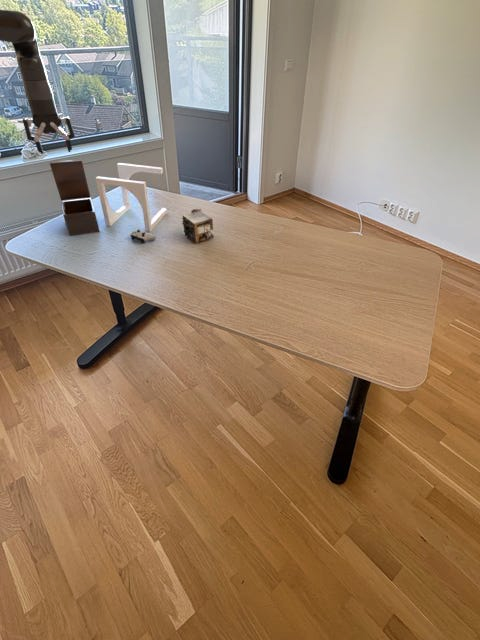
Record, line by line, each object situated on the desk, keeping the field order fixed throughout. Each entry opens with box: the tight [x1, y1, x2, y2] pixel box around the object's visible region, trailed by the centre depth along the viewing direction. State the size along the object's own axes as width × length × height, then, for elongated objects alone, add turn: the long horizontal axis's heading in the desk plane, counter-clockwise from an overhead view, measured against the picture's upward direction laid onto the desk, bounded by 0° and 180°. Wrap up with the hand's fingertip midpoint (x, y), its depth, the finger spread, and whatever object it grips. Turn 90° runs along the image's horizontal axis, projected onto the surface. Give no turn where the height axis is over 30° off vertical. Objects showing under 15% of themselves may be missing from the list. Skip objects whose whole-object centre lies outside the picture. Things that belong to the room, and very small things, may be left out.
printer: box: [181, 208, 215, 243], centre depth 140 cm, size 11×25×10 cm, turn 24°
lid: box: [49, 159, 91, 201], centre depth 141 cm, size 15×12×5 cm
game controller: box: [130, 229, 156, 244], centre depth 140 cm, size 10×5×6 cm
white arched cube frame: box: [94, 162, 168, 233], centre depth 148 cm, size 20×20×20 cm
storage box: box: [60, 197, 101, 237], centre depth 144 cm, size 15×12×9 cm
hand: (56, 152), depth 118 cm, fingers open, 8 cm apart
